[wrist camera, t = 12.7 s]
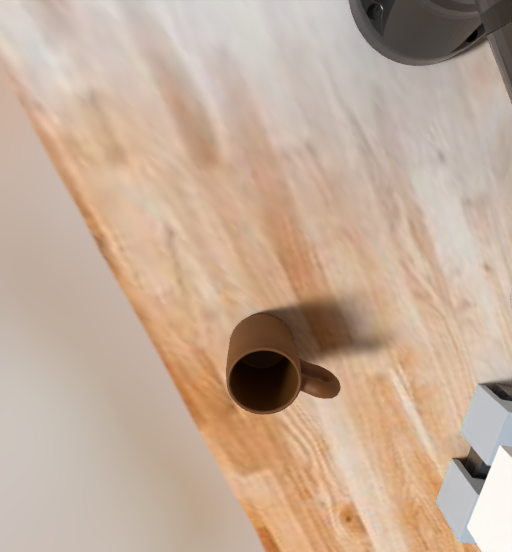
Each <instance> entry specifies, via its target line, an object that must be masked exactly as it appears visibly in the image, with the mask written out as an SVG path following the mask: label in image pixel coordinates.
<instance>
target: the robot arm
mask: <svg viewBox="0 0 512 552" xmlns="http://www.w3.org/2000/svg"><path fill="white" fill-rule="evenodd" d="M349 4H350V8H351V12H352V15H353V18H354V20H355V23H356V25H357V27H358V29H359V31H360V32H361V34H362V35H363V37H364V38H365V39H366V41H367V42H368V43H369V44H370V45H371V46H372V47H373V48H374V49H375V50H376V51H378V52H379V53H380V54H382V55H383V56H385V57H387V58H388V59H391V60H393V61H395V62H398V63H402V64H406V65H414V66H422V65H430V64H435V63H439V62H442V61H444V60H447V59H449V58H451V57H453V56H455V55H456V54H458V53H460V52H462V51H463V50H465V49H467V48H468V47H470V46H471V45H473V44H474V43H475V42H476V41H478V40H479V39H480V38H481V37H482V36H483V35H484V34H485V33H486V34H487V38H488V41H489V44H490V47H491V49H492V52H493V55H494V57H495V60H496V63H497V65H498V68H499V71H500V73H501V76H502V79H503V81H504V84H505V87H506V90H507V92H508V95H509V98H510V100H511V103H512V21H511V20H512V0H349ZM510 21H511V22H510ZM508 22H509V23H508ZM506 23H507V24H506ZM505 24H506V25H505ZM503 25H504V26H503ZM500 27H501V28H500ZM495 30H496V31H495ZM488 34H489V35H488ZM467 529H468V530H469V532H470V533H471V535H472V537H473V538H474V540H475V542H476V543H477V545H478V546H479V548H480V550H481V551H482V552H512V447H509V446H503V445H500V446H499V448H498V451H497V453H496V456H495V458H494V461H493V463H492V466H491V468H490V471H489V473H488V476H487V478H486V481H485V483H484V486H483V488H482V491H481V493H480V496H479V498H478V501H477V503H476V506H475V508H474V510H473V513H472V515H471V518H470V520H469V523H468V525H467Z"/></svg>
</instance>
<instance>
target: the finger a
mask: <svg viewBox="0 0 512 552" xmlns="http://www.w3.org/2000/svg"><path fill="white" fill-rule="evenodd" d="M485 481H486V480H483V479H476V478H472V477H471V476H470V474H469V473H468V471H467V470H466V469H465V467H464V466H463V465H462V463H461V462H460V461H459V460H457V459H451V462H450V464H449V467H448V470H447V472H446V475H445V478H444V481H443V483H442V486H441V489H440V491H439V494H438V497H437V499H436V504H437V505H438V507H439V509H440V511H441V512H442V514H443V516H444V518H445V519H446V521H447V523H448V525H449V526H450V528H451V530H452V532H453V533H454V535H455V537H456V538H457V540H458V542H462V543H469V544H476V545H477V543H476V542H475V540H474V538H473V537H472V535H471V533H470V532H469V530H468V529H467V525H468V523H469V520H470V518H471V515H472V513H473V510H474V508H475V506H476V503H477V501H478V498H479V496H480V493H481V491H482V488H483V486H484V483H485Z"/></svg>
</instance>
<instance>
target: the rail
mask: <svg viewBox="0 0 512 552" xmlns="http://www.w3.org/2000/svg"><path fill="white" fill-rule="evenodd" d="M493 393H494V394H495V395H497V396H498V397H499V398H500V399H501V400H507V401H512V386H507V385H501V384H495V386H494V389H493ZM464 467H465V469H466V470H467V471H468V473H469V474H470V476H471V477H472V478H476V479H483V480H486V478H487V476H488V473H489V471H490V468H491V466H488V465H486V463H485V462H484V461H483V460H482V459H481V457H480V456H479V455H478V454H477V453H476V451H475V450H474V449H473V448H472V447H471V449H470V452H469V454H468V457H467V460H466V462H465V465H464Z"/></svg>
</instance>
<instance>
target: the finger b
mask: <svg viewBox="0 0 512 552" xmlns="http://www.w3.org/2000/svg"><path fill="white" fill-rule="evenodd" d="M460 433H461V434H462V436H463V437H464V438H465V439H466V440H467V442H468V443H469V444H470V445H471V446H472V448H473V449H474V450H475V451H476V453H477V454H478V455H479V456H480V457H481V459H482V460H483V461H484V462H485V463H486V465H488V466H492V463H493V461H494V458H495V456H496V453H497V451H498V448H499V446H500V445H503V446H509V447H512V401H507V400H501V399H500V398H499V397H498V396H497V395H495V394H494V393H493V392H492V391H491V390H490V389H489V388H488V387H486V386H485V385H481V384H477V387H476V389H475V392H474V395H473V397H472V400H471V403H470V405H469V408H468V411H467V413H466V416H465V419H464V422H463V424H462V427H461V430H460Z"/></svg>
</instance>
